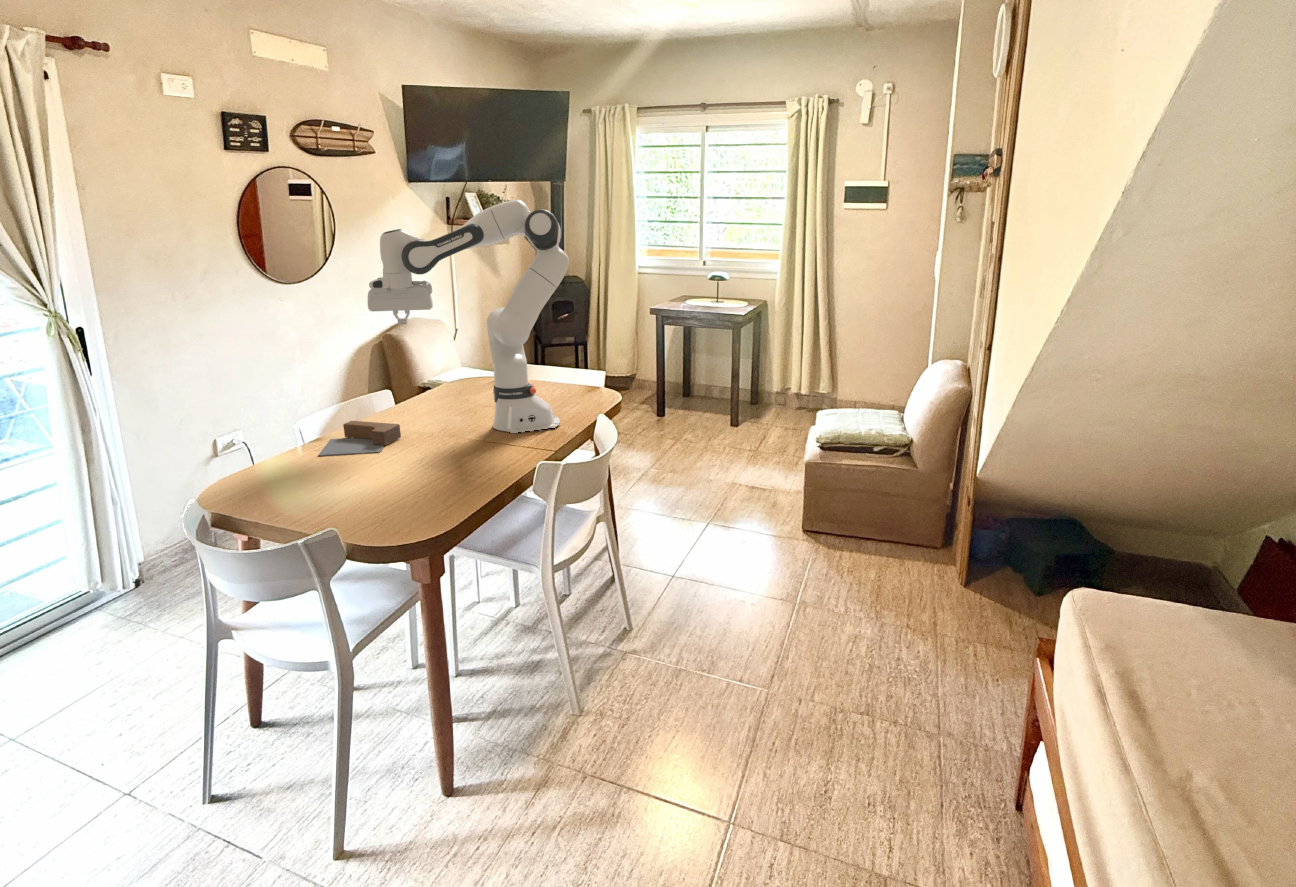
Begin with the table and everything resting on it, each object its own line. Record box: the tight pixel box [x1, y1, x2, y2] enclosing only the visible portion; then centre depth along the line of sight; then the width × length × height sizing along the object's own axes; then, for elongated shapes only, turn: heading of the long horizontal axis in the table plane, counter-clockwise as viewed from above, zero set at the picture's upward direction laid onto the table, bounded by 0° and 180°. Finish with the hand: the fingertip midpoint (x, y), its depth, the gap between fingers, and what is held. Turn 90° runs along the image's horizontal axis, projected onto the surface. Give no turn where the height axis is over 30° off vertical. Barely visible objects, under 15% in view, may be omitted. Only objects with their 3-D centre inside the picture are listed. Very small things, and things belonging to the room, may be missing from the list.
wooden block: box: [342, 420, 402, 446], centre depth 236 cm, size 9×4×18 cm
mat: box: [317, 437, 385, 457], centre depth 231 cm, size 18×16×1 cm
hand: (402, 324), depth 244 cm, fingers closed
